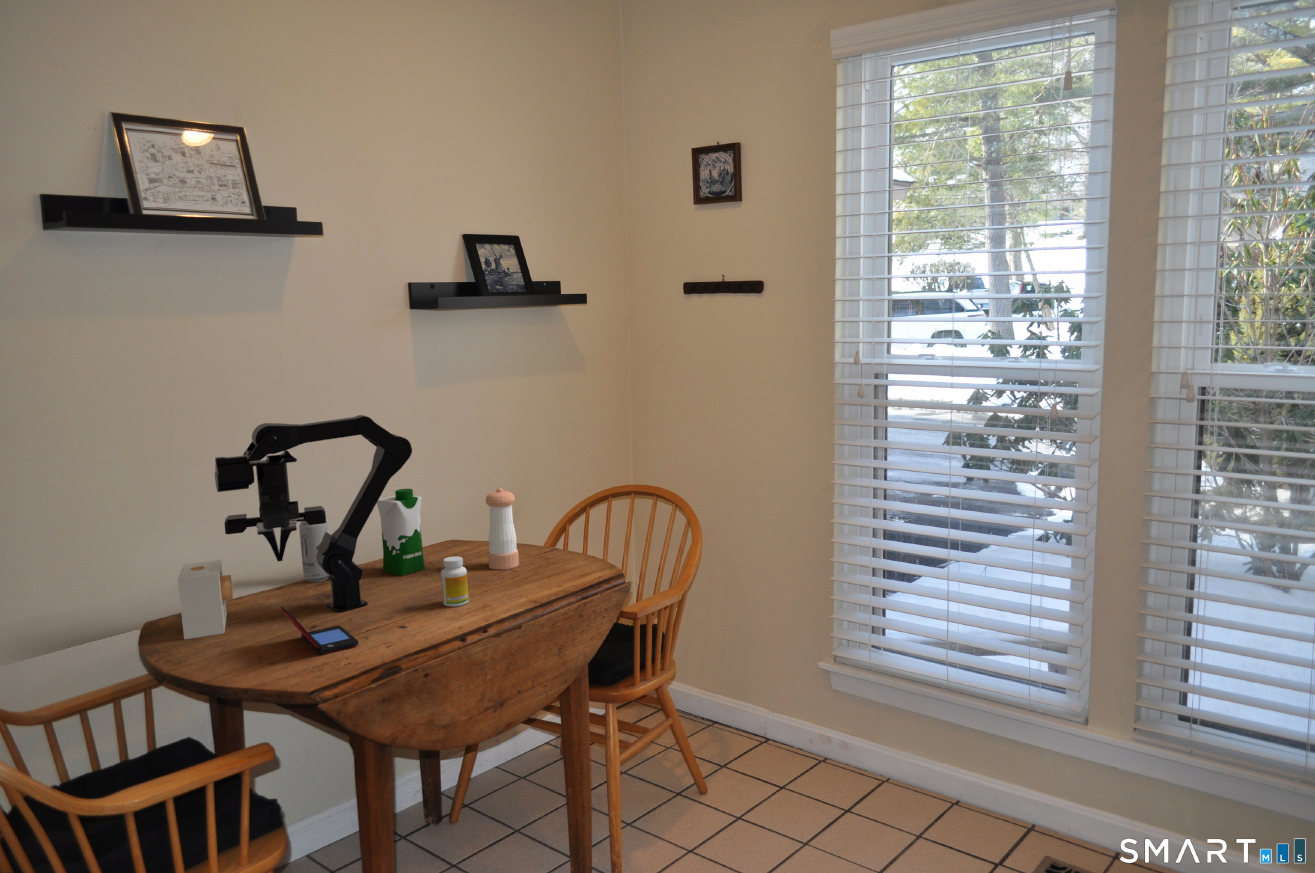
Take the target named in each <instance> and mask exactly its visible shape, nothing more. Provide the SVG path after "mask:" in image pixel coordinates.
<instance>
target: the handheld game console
mask: <svg viewBox="0 0 1315 873" xmlns="http://www.w3.org/2000/svg"><path fill="white" fill-rule="evenodd" d="M280 610H281V611H282V613H283V614H284V615H285V616H286V617H287V618H288V619H289V620H290V622H291V623H292V624H293V625H294V626H295V628H297V630H298V631H299V632H300V633H301V634H300V637H301V639H302V640H303V639H304V640H303V641H305V643H307V645H310V646H311V647H312V650H313V649H314V650H313V651H314V652H315V653H316V654H317V655H318V656H323V655H327V653H328V654H331V652H332V653H335V652H339V651H344V649H345V650H349V649H353V648H356V647H357V646H358V645H359V640H358V639H357V638H355V637H354V636H353V635H352V634H351V633H350V632H349V631H347V630H346V628H344V627H342V626H341V625H334V626H329V627H325V628H321V629H316V630H315V629H314V630H310V631H307V630H306V629H305V628H304V626H303V625H302V624H301V622H299V620H297V619H296V618H295V617H294V616H293V615H292V614H291V613H290V612H289V611H288V610H287V609H286V608H285V607H283V606H280Z"/></svg>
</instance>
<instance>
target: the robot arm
mask: <svg viewBox="0 0 1315 873" xmlns="http://www.w3.org/2000/svg"><path fill="white" fill-rule="evenodd" d="M355 436H362V437H363V438H364V439H366V440H367V441H368V442H369V443H370V444H372V445H373V446H374V447H376V449H375V452H374V454H373V458H372V464H371V469H370V471H369V473H368V474H367V476H366V478H365V480H364V482H363V484H362V485H361V487H360V489H359V491H358V493H357V494H356V496H355V498H354V500H353V502H352V504H351V505H350V507H349V509H348V510H347V513H346V514H345V516H344V517H343V520H342V522H341V523H340V525H339V527H338V528H337V529H336V530H334V531H333V533H332V534H330V533H329V532H328V531H327V532H325V534H324V536H323V539H322V541H321V543H320V544H319V545H318V546H317V547H316V549H317V550H318V552H317V555H316V559H317V562H318V564H319V565H320V567H321V568H322V569H323V570H324V571H325V572H326V573H327V574H329V576H330V586H331V599H332V602H327V603H325V604H326V607H327V608H330V609H331V610H334V611H336V612H340V613H341V612H345V611H347V610H348V611H349V610H353V609H355V608H359V607H363V606H367V605H369V604H368V603H369V602H368V601H366V600H363V599H362V598H361V597H362V596H361V586H360V581H361V580H362V577H363V572H364V570H363V569H362V568H361V567H360V566H359V565H357V564H356V563H355V562H354V561H353V559H354V556H355V554H356V547H357V542H358V538H359V536H360V534H361V532H362V530H363V528H364V526H365V524H366V523H367V521H368V520H369V518H370V516H371V514H372V512H373V510H374V509H375V506H377V501H378V500H379V499H381V496H382V494H383V492H384V490H385V488H386V487H387V486H388V484H389V481H390V480H391V479H392V477H393V476H395V474H397V473H398V472H399V471H400V470H401V469H403V467H404V465H405V464H406V463H407V461H408V460H409V459H410V458H411V456H412V453H413V448H412V444H411V442H410V441H409V440H408V439H407V438H406V437H403V436H400V435H397V434H394V433H391V432H390V431H388V430H387V429H385V428H384V427H382V426H381V425H379V424H378V423H376V422H375V420H374V419H372V418H371V417H370V416H366V415H363V414H362V415H361V414H359V415H358V414H357V415H356V416H352V417H344V418H338V419H337V418H336V419H331V420H330V419H328V420H324V421H322V420H321V421H315V422H309V423H302V424H295V423H282V422H281V423H280V422H279V423H277V422H275V423H274V422H271V423H270V422H265V423H260V424H258V425H257V426H256V427H255V428H254V429H253V431H252V434H251V442H250V444H249V445H248V446H247V447H246V449H245V451H244V452H243V454H242V455H238V456H228V457H227V456H226V457H225V456H218V457H215V458H214V461H215V462H214V464H215V465H214V466H215V468H214V470H215V472H213V474H214V480H215V487H216V492H217V493H222V492H223V493H224V492H232V491H240V490H248V489H250V486H251V485H252V486H253V484H254V483H255V472H254V467H255V470H256V483H257V492H258V494H257V495H258V502H259V504H258V505H259V507H258V510H259V516H253V517H248V515H247V513H241V514H231V515H230V514H229V515H227V517H225V519H224V533H225V535H232V534H233V535H234V534H235V535H236V534H243V533H244V532H245V531H246V530H247V529H248V528H254V527H256V533H257V535H259V536H260V535H261V536H264V538H265V539H266V541H267V542H268V544H269V545H270V548H271V549H272V552H273V553H274V557H275V558H276V560H277V562H283V559H284V554H285V551H286V547H287V543H288V540H289V538H290V535H291V533H292V532H296V531H297V529H298V528H297V527H298V526H297V524H298V523H301V521H306V522H307V523H308V524H309V525H316V524H324V523H327V515H326V509H325V507H324V506H322V505H316V506H308V507H304V508H303V511H302V512H301V511H300V510H299V501H298V500H294V501H291V499H290V488H289V487H290V486H289V485H290V484H289V476H288V464H289V463H290V464H291V463H296V462H297V460H298V459H297V458H296V457H294V456H293V455H292V454H291V453H290V451H289V450H291V449H293V448H296V447H298V446H300V445H303V444H307V443H308V444H309V443H314V442H321V441H327V440H334V439H335V440H336V439H340V438H348V437H355ZM278 453H281V454H278ZM264 458H266V459H264ZM262 459H264V460H262ZM275 529H280V531H279V532H280V534H279V545H278V543H277V542H278V540H277V536H276V533H275Z"/></svg>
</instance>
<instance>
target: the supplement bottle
mask: <svg viewBox="0 0 1315 873" xmlns="http://www.w3.org/2000/svg"><path fill="white" fill-rule="evenodd" d="M463 565H464V559H463V557H462V556H449V557H445V558H443V567H444V568H443V569H442V570H441V571H440V579H441V580H440V582H441V594H442V595H441V597H442V598H441V599H442V604H443V606H445V607H452V608H453V607H460V606H463V605H466V604H468V603H469V600H470V597H469V586H468V585H469V584H468V582H469V581H468V570H467V568H466V567H465V566H463Z"/></svg>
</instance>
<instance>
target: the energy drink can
mask: <svg viewBox="0 0 1315 873" xmlns="http://www.w3.org/2000/svg"><path fill="white" fill-rule="evenodd" d="M327 526H328V524H327V522H326V523H324V524H316V525H309V524H308V523H307V522H306V521H300V522H299V525H298V529H299V539H300V540H299V541H300V552H301V564H302V573H303V579H305V580H306V582H307V581H308V582H309V583H318V582H325V581H327V580H328V579H329V578H330V575H329V574H327V573H326V572H325V571H324V570H323V569H322V568H321V567H320V565H319V564H318V562H317V559H316V555H317V552H318V550H317V549H316V547H317V546H318V545H319V544H320V543H321V541H322V539H323V536H324V534H325V532H328V527H327Z"/></svg>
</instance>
